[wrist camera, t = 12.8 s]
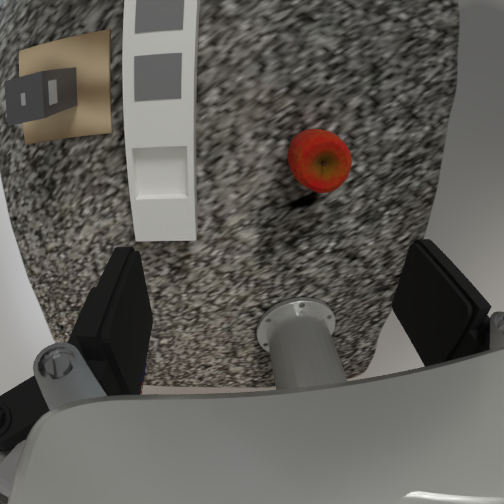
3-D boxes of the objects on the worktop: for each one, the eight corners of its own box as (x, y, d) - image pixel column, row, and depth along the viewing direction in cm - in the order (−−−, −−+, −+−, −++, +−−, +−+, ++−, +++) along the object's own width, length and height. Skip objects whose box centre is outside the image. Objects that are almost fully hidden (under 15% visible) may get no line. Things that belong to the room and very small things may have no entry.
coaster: (112, 132, 32) (111, 133, 32) (27, 143, 31) (25, 144, 30) (110, 29, 26) (109, 29, 25) (20, 51, 24) (19, 51, 24)
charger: (78, 105, 29) (44, 118, 23) (45, 110, 29) (7, 126, 22) (76, 67, 27) (42, 71, 20) (42, 74, 26) (4, 81, 20)
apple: (339, 161, 37) (364, 183, 30) (293, 181, 38) (308, 208, 31) (321, 113, 33) (346, 126, 27) (271, 134, 34) (284, 151, 28)
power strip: (197, 225, 40) (195, 243, 36) (142, 226, 39) (134, 243, 35) (207, -83, 19) (206, -98, 16) (142, -77, 18) (134, -91, 15)
